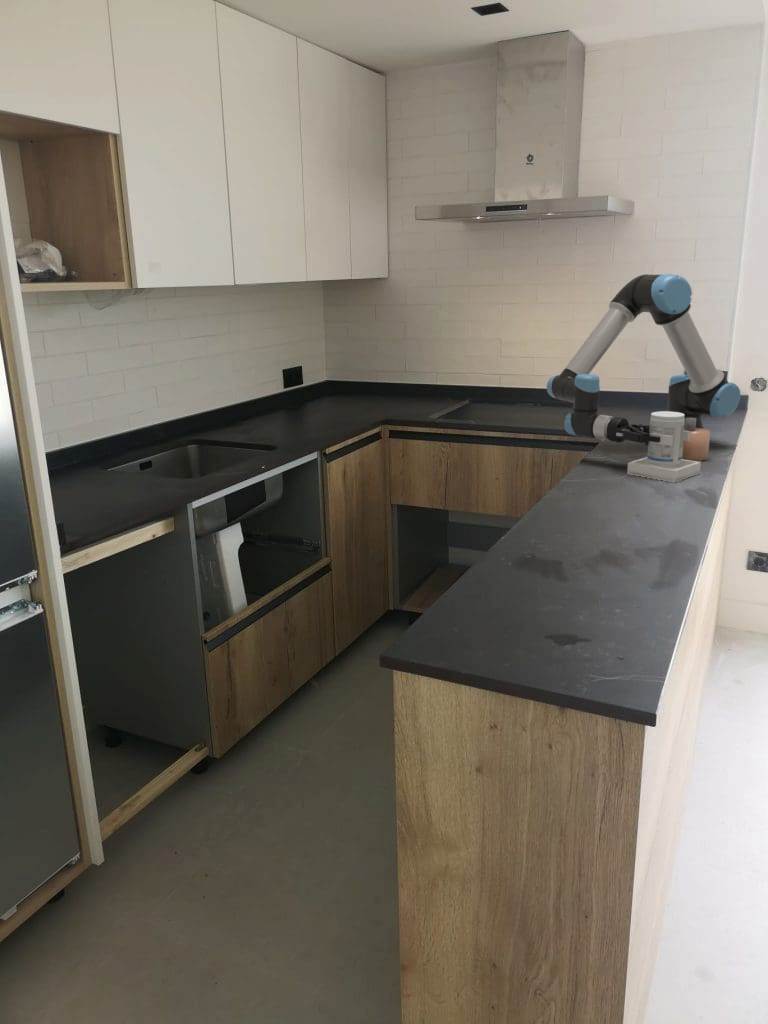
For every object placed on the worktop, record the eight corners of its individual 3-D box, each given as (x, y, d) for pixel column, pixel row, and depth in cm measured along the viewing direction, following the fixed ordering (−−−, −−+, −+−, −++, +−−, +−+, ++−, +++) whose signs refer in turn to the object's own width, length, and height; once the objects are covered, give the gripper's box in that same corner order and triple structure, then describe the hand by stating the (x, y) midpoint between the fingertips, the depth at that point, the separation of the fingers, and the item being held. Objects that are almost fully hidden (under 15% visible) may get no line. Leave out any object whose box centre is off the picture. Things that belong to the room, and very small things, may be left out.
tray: (653, 465, 248) (653, 454, 247) (699, 473, 237) (700, 462, 236) (627, 474, 238) (627, 462, 237) (674, 482, 228) (675, 470, 227)
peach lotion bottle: (686, 453, 264) (689, 414, 260) (712, 457, 257) (716, 417, 254) (672, 458, 258) (676, 418, 254) (699, 462, 251) (703, 421, 248)
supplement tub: (662, 458, 243) (667, 410, 239) (688, 464, 235) (692, 414, 231) (639, 462, 238) (643, 412, 234) (664, 468, 231) (669, 417, 226)
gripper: (629, 435, 255) (697, 445, 240) (590, 445, 241) (660, 457, 225) (631, 412, 253) (700, 420, 238) (592, 421, 239) (662, 430, 223)
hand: (680, 438), depth 231 cm, fingers closed on supplement tub, 9 cm apart
